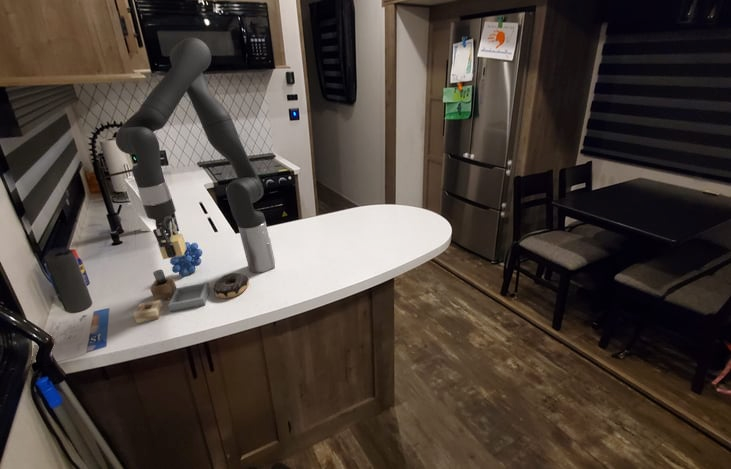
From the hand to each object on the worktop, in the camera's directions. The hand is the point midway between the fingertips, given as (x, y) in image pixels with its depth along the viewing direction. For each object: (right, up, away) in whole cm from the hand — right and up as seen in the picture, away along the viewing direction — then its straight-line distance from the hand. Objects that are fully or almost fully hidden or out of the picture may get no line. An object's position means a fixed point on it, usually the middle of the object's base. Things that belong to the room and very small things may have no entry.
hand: (174, 251), depth 112 cm
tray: (+2, -16, +7) cm, 17 cm away
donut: (+14, -13, +11) cm, 22 cm away
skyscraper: (-47, +8, +69) cm, 83 cm away
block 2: (-8, -15, +11) cm, 20 cm away
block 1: (0, -1, 0) cm, 1 cm away
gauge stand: (-8, -19, +1) cm, 21 cm away
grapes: (-7, -9, +24) cm, 27 cm away
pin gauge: (-8, -15, +11) cm, 20 cm away
